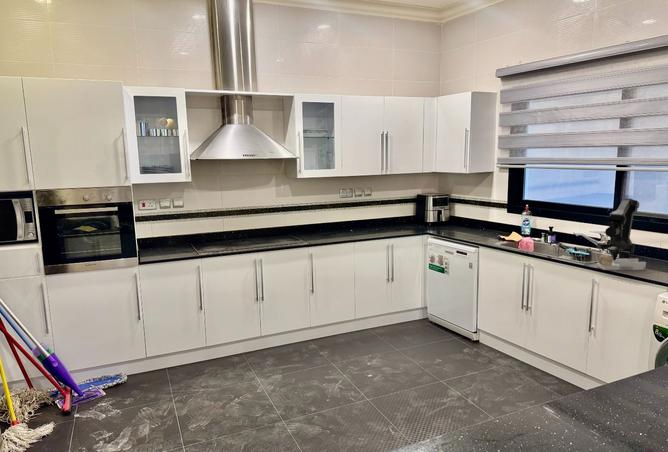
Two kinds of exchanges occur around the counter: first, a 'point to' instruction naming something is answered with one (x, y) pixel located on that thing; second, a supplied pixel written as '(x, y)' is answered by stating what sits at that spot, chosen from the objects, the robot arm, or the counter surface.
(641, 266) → the trap channel
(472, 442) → the counter surface
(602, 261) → the wooden block
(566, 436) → the counter surface
